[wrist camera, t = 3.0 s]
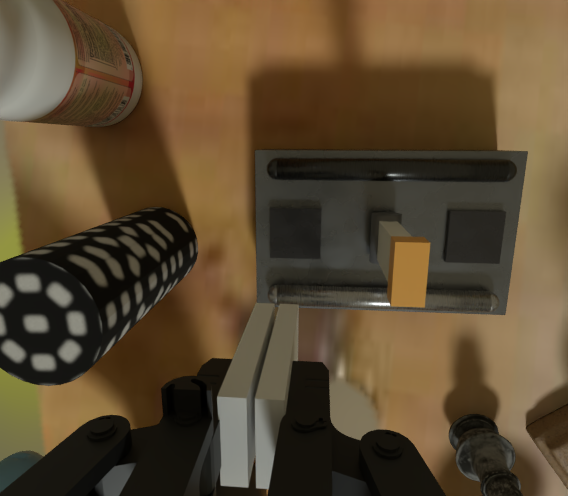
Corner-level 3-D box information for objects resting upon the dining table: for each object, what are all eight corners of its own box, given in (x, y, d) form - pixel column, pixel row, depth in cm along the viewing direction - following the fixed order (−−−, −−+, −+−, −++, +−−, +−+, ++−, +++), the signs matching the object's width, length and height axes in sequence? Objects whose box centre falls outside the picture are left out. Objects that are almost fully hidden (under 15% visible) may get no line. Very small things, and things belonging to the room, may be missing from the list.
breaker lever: (367, 257, 37) (387, 306, 26) (370, 211, 36) (391, 241, 25) (396, 257, 36) (428, 307, 25) (399, 212, 35) (433, 242, 24)
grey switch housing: (265, 285, 45) (254, 313, 37) (264, 149, 41) (251, 150, 34) (480, 291, 43) (514, 323, 35) (497, 150, 40) (539, 151, 32)
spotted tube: (127, 283, 46) (-14, 385, 27) (116, 208, 44) (-44, 258, 25) (201, 282, 45) (111, 386, 26) (194, 205, 43) (91, 255, 24)
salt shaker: (512, 430, 46) (576, 526, 35) (476, 466, 48) (526, 570, 36) (469, 402, 46) (520, 489, 34) (435, 438, 47) (471, 534, 36)
